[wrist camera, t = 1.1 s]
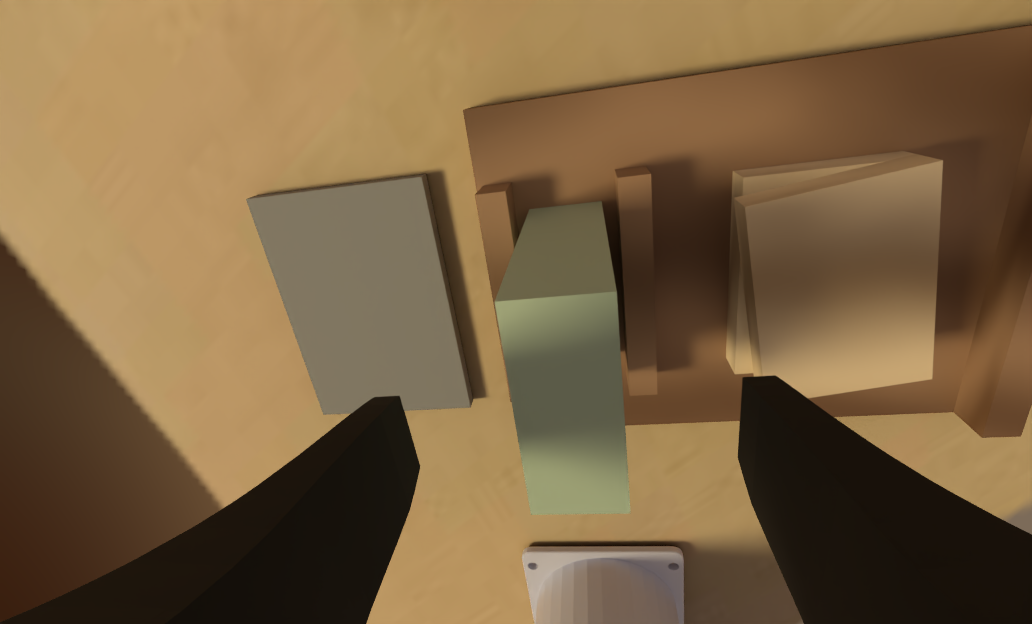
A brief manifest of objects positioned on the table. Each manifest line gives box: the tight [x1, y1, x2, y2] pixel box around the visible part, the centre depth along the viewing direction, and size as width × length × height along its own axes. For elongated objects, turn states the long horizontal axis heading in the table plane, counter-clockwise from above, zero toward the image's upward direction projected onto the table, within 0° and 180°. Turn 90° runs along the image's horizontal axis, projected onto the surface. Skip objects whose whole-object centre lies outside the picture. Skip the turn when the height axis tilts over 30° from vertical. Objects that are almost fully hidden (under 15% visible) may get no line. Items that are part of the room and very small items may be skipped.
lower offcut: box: [726, 151, 914, 374], centre depth 17 cm, size 7×5×1 cm
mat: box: [246, 174, 473, 415], centre depth 21 cm, size 10×7×1 cm
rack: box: [463, 25, 1032, 438], centre depth 17 cm, size 13×18×2 cm
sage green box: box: [495, 201, 630, 515], centre depth 15 cm, size 6×2×8 cm, turn 8°
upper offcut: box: [734, 154, 943, 398], centre depth 16 cm, size 7×5×1 cm
